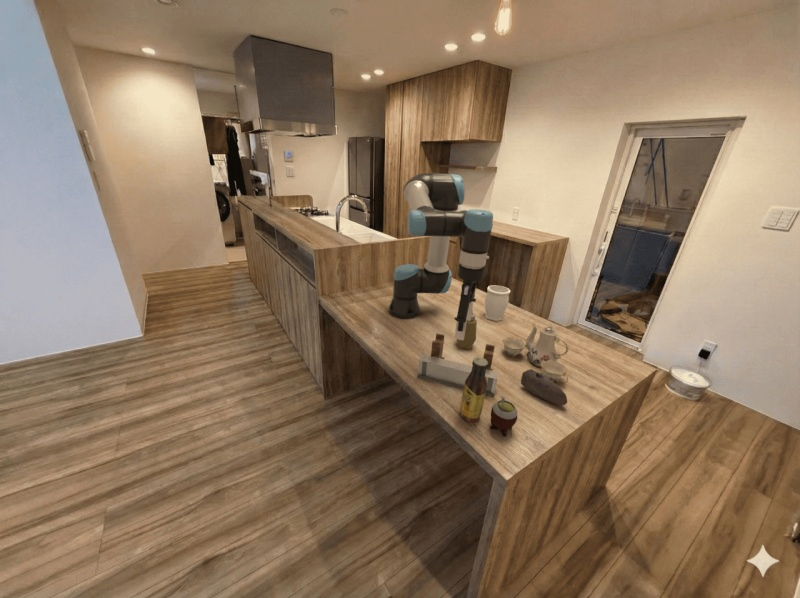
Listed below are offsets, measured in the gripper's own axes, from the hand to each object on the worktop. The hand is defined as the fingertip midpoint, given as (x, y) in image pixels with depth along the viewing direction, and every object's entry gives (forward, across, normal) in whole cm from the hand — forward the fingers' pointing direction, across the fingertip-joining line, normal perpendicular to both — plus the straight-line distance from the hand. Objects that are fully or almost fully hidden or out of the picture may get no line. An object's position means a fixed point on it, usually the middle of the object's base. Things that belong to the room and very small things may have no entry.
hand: (463, 328), depth 102 cm
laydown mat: (+21, 0, 0) cm, 21 cm away
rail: (+20, 0, 0) cm, 20 cm away
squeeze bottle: (+21, +25, +1) cm, 33 cm away
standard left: (+21, +8, +9) cm, 24 cm away
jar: (+21, +57, -8) cm, 61 cm away
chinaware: (+21, +23, -27) cm, 41 cm away
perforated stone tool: (+21, +4, -28) cm, 35 cm away
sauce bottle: (+21, -14, -7) cm, 26 cm away
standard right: (+21, +8, -9) cm, 24 cm away
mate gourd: (+21, -16, -16) cm, 31 cm away
